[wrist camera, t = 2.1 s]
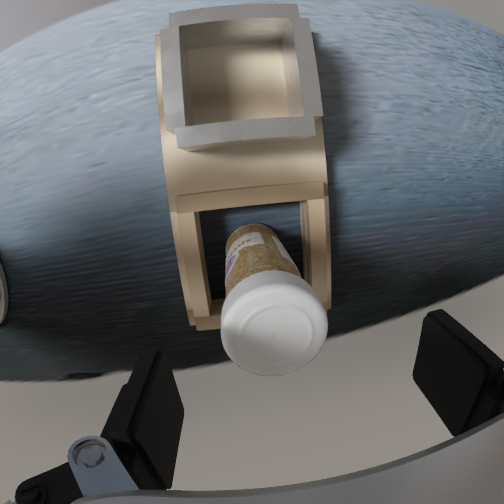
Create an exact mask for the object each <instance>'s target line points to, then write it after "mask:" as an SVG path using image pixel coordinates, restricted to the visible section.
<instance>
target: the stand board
mask: <svg viewBox="0 0 504 504" xmlns="http://www.w3.org/2000/svg"><path fill="white" fill-rule="evenodd" d="M155 45H156V72H157V90H158V105H159V118H160V130H161V141H162V151H163V160H164V169H165V178H166V186H167V194H168V202H169V209H170V216H171V223H172V230H173V236H174V242H175V249H176V255H177V261H178V266H179V272H180V278H181V283H182V289H183V294H184V299H185V304H186V309H187V314H188V319H189V324H190V326H191V325H196V329H197V331H199V330H211V329H221V313H222V308H223V304H224V302H225V299H226V298H225V299H216V300H212V299H211V293H210V286H209V280H208V273H207V267H206V260H205V253H204V246H203V239H202V231H201V224H200V216H199V211H206V210H214V209H223V208H232V207H241V206H250V205H260V204H270V203H281V202H292V201H299V204H300V219H301V235H302V253H303V274H304V280H305V281H306V282H307V283H308V284H309V285H310V286H311V287H312V288H313V290H314V291H315V293H316V295H317V296H318V298H319V300H320V301H321V303H322V305H323V307H324V309H325V312H326V315H327V309H331V244H330V217H329V198H328V182H327V168H326V156H325V144H324V134H323V124H322V117H320V118H319V119H317V120H315V121H314V122H315V131H316V135H315V136H312V137H309V138H307V139H304V140H301V141H292V142H276V143H262V144H251V145H240V146H230V147H221V148H213V149H205V150H197V151H190V152H187V151H184V150H182V149H179V148H177V139H176V136H175V135H174V134H172V133H170V132H168V131H166V129H165V117H164V104H163V89H162V72H161V49H160V34H158V35H155ZM188 61H189V76H190V89H191V101H192V113H193V124H194V126H195V125H202V124H210V123H218V122H227V121H237V120H248V119H260V118H276V117H289V110H288V102H287V93H286V85H285V77H284V69H283V61H282V54H281V47H280V42H278V43H251V44H236V45H225V46H215V47H207V48H199V49H192V50H188Z"/></svg>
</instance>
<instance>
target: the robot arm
mask: <svg viewBox="0 0 504 504" xmlns="http://www.w3.org/2000/svg"><path fill="white" fill-rule="evenodd" d="M7 309H8V289H7V283H6V278H5V274H4V271H3V268H2V265H1V262H0V324H1V323H2V322H3V320H4V319H5V317H6V314H7ZM503 368H504V361H503V360H501V359H500V358H499V357H498V356H497V355H496V354H495V353H494V352H493V351H491V350H490V349H489V348H488V347H487V346H486V345H485V344H483V343H482V342H481V341H480V340H479V339H477V338H476V337H475V336H474V335H473V334H472V333H471V332H469V331H468V330H467V329H466V328H465V327H464V326H462V325H461V324H460V323H459V322H458V321H456V320H455V319H454V318H453V317H451V316H450V315H449V314H448V313H447V312H445V311H444V310H442V309H439V310H435V311H431V312H429V313H428V314H427V315H426V317H425V318H424V320H423V325H422V331H421V336H420V341H419V346H418V351H417V356H416V361H415V365H414V369H413V379H414V381H415V383H416V384H417V385H418V387H419V388H420V390H421V391H422V392H423V394H424V395H425V397H426V398H427V399H428V401H429V402H430V404H431V405H432V407H433V408H434V409H435V411H436V412H437V414H438V415H439V417H440V418H441V419H442V421H443V422H444V424H445V425H446V427H447V428H448V430H449V431H450V433H451V434H452V435H453V436H454V438H452V439H450V440H447V441H445V442H443V443H440V444H438V445H436V446H433V447H431V448H428V449H426V450H423V451H420V452H418V453H415V454H412V455H410V456H407V457H404V458H401V459H398V460H395V461H392V462H389V463H386V464H383V465H379V466H376V467H372V468H369V469H365V470H362V471H357V472H354V473H349V474H346V475H341V476H337V477H332V478H327V479H322V480H317V481H311V482H306V483H299V484H292V485H285V486H277V487H268V488H257V489H243V490H221V491H181V490H166V489H170V488H171V487H172V481H173V475H174V469H175V463H176V458H177V452H178V445H179V440H180V435H181V429H182V424H183V418H184V408H183V404H182V401H181V398H180V395H179V392H178V389H177V385H176V382H175V379H174V376H173V372H172V369H171V365H170V362H169V358H168V355H167V353H166V352H162V350H161V349H160V348H144V349H143V350H142V352H141V355H140V357H139V359H138V361H137V363H136V365H135V367H134V370H133V372H132V374H131V376H130V379H129V381H128V383H127V384H125V385H123V387H122V388H121V391H120V393H119V395H118V397H117V399H116V401H115V404H114V406H113V408H112V410H111V413H110V415H109V417H108V419H107V422H106V424H105V426H104V428H103V431H102V433H101V435H100V437H99V436H86V437H82V438H80V439H78V440H77V441H75V442H74V443H73V444H72V445H71V447H70V448H69V450H68V455H67V457H68V462H67V463H65V464H62V465H60V466H58V467H56V468H53V469H51V470H49V471H46V472H44V473H42V474H39V475H37V476H35V477H32V478H30V479H27V480H25V481H24V482H22V483H21V484H20V485H19V486H18V488H17V490H16V493H15V500H16V501H14V502H13V503H12V502H11V501H10V500H9V501H7V502H6V503H5V504H504V370H503Z"/></svg>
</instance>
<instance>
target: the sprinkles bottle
mask: <svg viewBox="0 0 504 504" xmlns="http://www.w3.org/2000/svg"><path fill="white" fill-rule="evenodd" d="M225 252H226V268H225V287H226V299H225V302H224V304H223V308H222V313H221V339H222V344H223V347H224V349H225V351H226V353H227V355H228V356H229V357H230V359H231V360H232V361H233V362H234V363H235V364H237V365H238V366H239V367H241V368H242V369H244V370H246V371H248V372H251V373H253V374H257V375H262V376H278V375H284V374H288V373H291V372H294V371H296V370H298V369H300V368H302V367H304V366H305V365H306V364H308V363H309V362H310V361H312V360H313V359H314V358H315V356H316V355H317V354H318V353H319V351H320V350H321V348H322V347H323V345H324V342H325V340H326V336H327V331H328V320H327V315H326V312H325V309H324V307H323V305H322V303H321V301H320V300H319V298H318V296H317V295H316V293H315V291H314V290H313V288H312V287H311V286H310V285H309V284H308V283H307V282H306V281H305V280H303V279H302V277H301V275H300V273H299V270H298V268H297V267H296V265H295V263H294V262H293V260H292V259H291V257H290V256H289V254H288V253H287V251H286V249H285V248H284V246H283V245H282V244H281V242H280V241H279V238H278V236H277V235H276V234H275V233H274V232H273V231H272V229H271V228H269V227H267V226H265V225H263V224H260V223H250V224H246V225H242V226H240V227H239V228H237V229H236V230H235V231H234V232H233V233H232V234H231V235H230V237H229V238H228V241H227V243H226V251H225Z"/></svg>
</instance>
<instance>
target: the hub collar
mask: <svg viewBox="0 0 504 504" xmlns="http://www.w3.org/2000/svg"><path fill="white" fill-rule="evenodd" d="M278 42H280V47H281V54H282V61H283V69H284V77H285V85H286V93H287V102H288V110H289V117H276V118H260V119H248V120H237V121H227V122H218V123H210V124H202V125H195V126H194V124H193V113H192V101H191V89H190V76H189V61H188V50H192V49H199V48H207V47H215V46H225V45H236V44H251V43H278ZM160 49H161V72H162V89H163V104H164V117H165V129H166V131H168V132H170V133H172V134H174V135H175V136H176V139H177V148H179V149H182V150H184V151H187V152H190V151H197V150H205V149H213V148H221V147H230V146H240V145H251V144H262V143H276V142H292V141H301V140H304V139H307V138H309V137H312V136H315V135H316V131H315V122H314V121H315V120H317V119H319V118H320V117H322V116H323V109H322V100H321V92H320V85H319V77H318V70H317V64H316V57H315V51H314V45H313V39H312V33H311V28H310V22H309V18H300V17H299V12H298V6H297V4H244V5H229V6H218V7H209V8H201V9H193V10H187V11H181V12H175V13H169V28H166V29H161V30H160Z"/></svg>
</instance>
